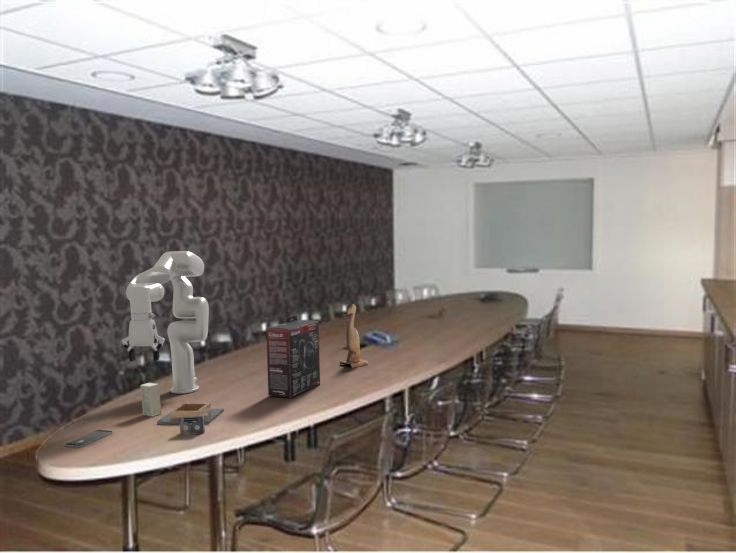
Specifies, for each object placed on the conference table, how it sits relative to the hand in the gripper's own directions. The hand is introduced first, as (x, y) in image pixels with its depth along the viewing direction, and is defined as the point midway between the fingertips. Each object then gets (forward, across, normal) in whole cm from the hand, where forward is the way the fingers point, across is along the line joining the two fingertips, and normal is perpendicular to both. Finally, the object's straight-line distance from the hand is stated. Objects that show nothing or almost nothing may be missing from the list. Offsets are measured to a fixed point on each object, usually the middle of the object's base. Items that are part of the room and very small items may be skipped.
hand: (144, 360), depth 237 cm
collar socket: (+22, -18, +2) cm, 29 cm away
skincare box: (+22, 0, -2) cm, 22 cm away
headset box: (+22, -50, -37) cm, 66 cm away
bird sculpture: (+22, -69, -86) cm, 112 cm away
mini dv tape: (+22, -26, +20) cm, 40 cm away
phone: (+23, +9, +26) cm, 36 cm away
